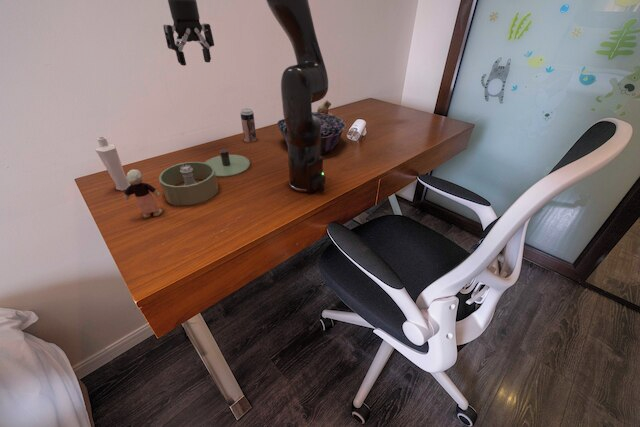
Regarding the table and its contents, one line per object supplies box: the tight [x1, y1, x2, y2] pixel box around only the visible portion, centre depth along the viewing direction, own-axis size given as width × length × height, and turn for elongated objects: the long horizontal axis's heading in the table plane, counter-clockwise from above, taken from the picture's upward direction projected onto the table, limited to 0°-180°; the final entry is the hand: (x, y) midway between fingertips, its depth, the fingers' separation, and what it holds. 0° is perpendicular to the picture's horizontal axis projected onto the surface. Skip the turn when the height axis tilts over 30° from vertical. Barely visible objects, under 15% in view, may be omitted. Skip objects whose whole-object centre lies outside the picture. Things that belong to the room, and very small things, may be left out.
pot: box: [158, 161, 220, 207], centre depth 79 cm, size 14×14×6 cm
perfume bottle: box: [95, 136, 131, 192], centre depth 78 cm, size 5×4×15 cm
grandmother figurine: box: [123, 169, 163, 219], centre depth 69 cm, size 8×4×13 cm, turn 118°
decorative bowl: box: [276, 111, 347, 155], centre depth 109 cm, size 26×28×10 cm
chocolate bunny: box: [316, 99, 334, 115], centre depth 130 cm, size 6×8×10 cm
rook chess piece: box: [180, 165, 198, 186], centre depth 78 cm, size 4×4×8 cm
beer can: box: [239, 108, 257, 143], centre depth 108 cm, size 5×5×12 cm
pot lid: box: [204, 148, 251, 178], centre depth 92 cm, size 15×15×6 cm
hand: (196, 63), depth 89 cm, fingers open, 8 cm apart
